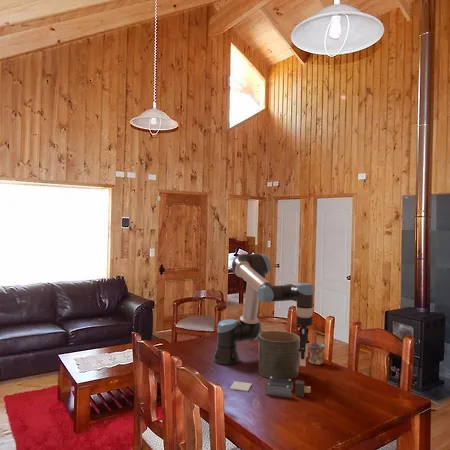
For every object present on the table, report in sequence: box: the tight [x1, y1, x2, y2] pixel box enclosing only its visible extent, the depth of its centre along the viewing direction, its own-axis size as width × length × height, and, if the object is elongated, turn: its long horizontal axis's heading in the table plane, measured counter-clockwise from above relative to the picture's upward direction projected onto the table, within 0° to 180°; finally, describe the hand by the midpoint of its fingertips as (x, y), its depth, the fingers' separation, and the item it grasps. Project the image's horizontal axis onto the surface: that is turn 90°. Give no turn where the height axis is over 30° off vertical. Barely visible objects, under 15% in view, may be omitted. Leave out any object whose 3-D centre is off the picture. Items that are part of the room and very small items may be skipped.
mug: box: [308, 342, 325, 366], centre depth 232 cm, size 12×9×11 cm
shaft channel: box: [264, 377, 294, 399], centre depth 189 cm, size 12×10×5 cm
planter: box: [258, 330, 300, 380], centre depth 215 cm, size 22×22×20 cm
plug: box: [294, 379, 312, 398], centre depth 187 cm, size 7×4×6 cm, turn 78°
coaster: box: [229, 380, 252, 393], centre depth 195 cm, size 9×9×1 cm
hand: (303, 361), depth 186 cm, fingers open, 13 cm apart
